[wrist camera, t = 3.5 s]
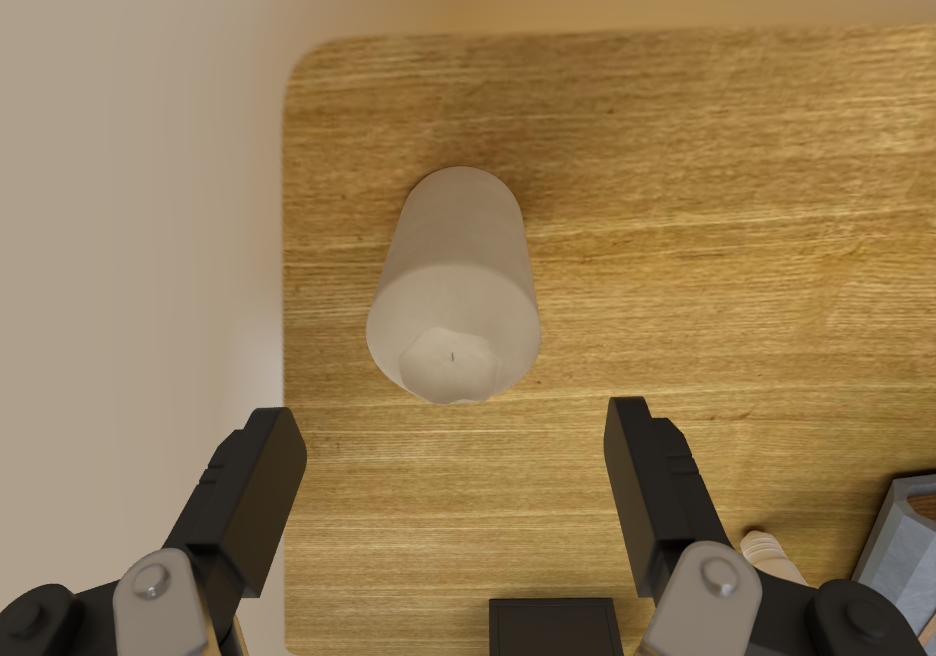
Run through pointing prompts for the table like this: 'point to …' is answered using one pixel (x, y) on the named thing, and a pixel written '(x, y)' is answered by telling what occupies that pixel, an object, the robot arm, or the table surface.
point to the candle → (456, 292)
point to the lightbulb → (769, 556)
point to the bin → (553, 627)
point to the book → (905, 555)
